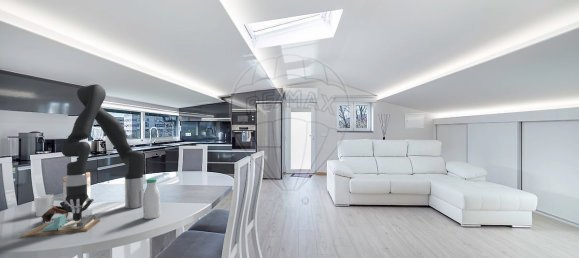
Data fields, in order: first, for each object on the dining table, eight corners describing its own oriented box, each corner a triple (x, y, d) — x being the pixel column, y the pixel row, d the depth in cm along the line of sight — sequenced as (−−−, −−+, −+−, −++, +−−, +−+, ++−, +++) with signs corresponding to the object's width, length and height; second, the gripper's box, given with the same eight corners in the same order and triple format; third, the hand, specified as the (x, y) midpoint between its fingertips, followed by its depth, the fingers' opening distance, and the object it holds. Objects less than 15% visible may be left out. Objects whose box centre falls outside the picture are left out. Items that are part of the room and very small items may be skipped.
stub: (68, 222, 121) (68, 212, 121) (56, 229, 112) (56, 219, 112) (55, 224, 120) (55, 214, 120) (43, 231, 111) (42, 220, 111)
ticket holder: (100, 221, 126) (99, 213, 126) (87, 231, 114) (87, 222, 114) (41, 226, 120) (41, 218, 120) (20, 238, 107) (20, 229, 107)
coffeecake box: (78, 203, 159) (78, 172, 159) (91, 202, 161) (91, 172, 161) (62, 210, 145) (62, 176, 145) (76, 209, 146) (76, 176, 146)
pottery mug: (47, 219, 132) (58, 204, 134) (65, 226, 132) (75, 211, 135) (30, 221, 120) (42, 205, 123) (49, 229, 121) (61, 212, 124)
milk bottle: (163, 215, 134) (163, 177, 134) (151, 220, 127) (150, 180, 127) (152, 213, 136) (152, 177, 137) (140, 218, 129) (139, 180, 129)
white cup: (41, 217, 134) (41, 198, 134) (30, 216, 135) (30, 197, 135) (58, 212, 141) (57, 194, 141) (47, 211, 143) (46, 194, 143)
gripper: (96, 181, 124) (97, 216, 124) (64, 183, 120) (65, 219, 120) (89, 184, 117) (89, 221, 117) (54, 186, 113) (55, 225, 113)
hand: (77, 220), depth 118 cm, fingers closed
